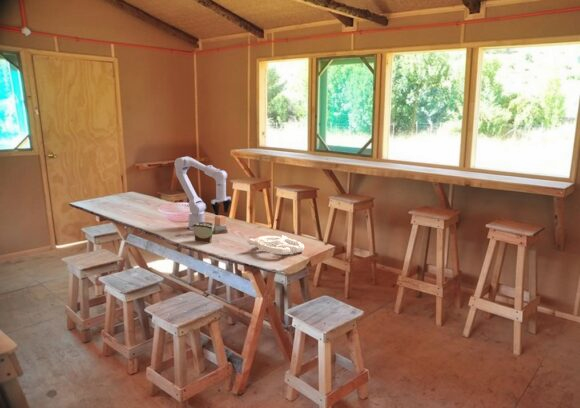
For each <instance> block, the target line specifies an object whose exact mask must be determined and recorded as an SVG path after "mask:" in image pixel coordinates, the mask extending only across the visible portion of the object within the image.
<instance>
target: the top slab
mask: <svg viewBox="0 0 580 408" xmlns="http://www.w3.org/2000/svg"><path fill="white" fill-rule="evenodd" d="M213 227H214V228H215V230H216V231H217V230H226V229H227V224H225V225H222V226H217V225H215V223H214V224H213Z"/></svg>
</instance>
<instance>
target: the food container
mask: <svg viewBox="0 0 580 408" xmlns="http://www.w3.org/2000/svg"><path fill="white" fill-rule="evenodd" d="M192 227H194V230H193V233H194V241H195V242H197V243H198V242H199V243H204V244H205V243H206V244H211V243H212V240H213V239H212V238H213V229H214V224H213V223H212V222H209V221H204V222H197V223H193V226H192Z"/></svg>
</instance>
